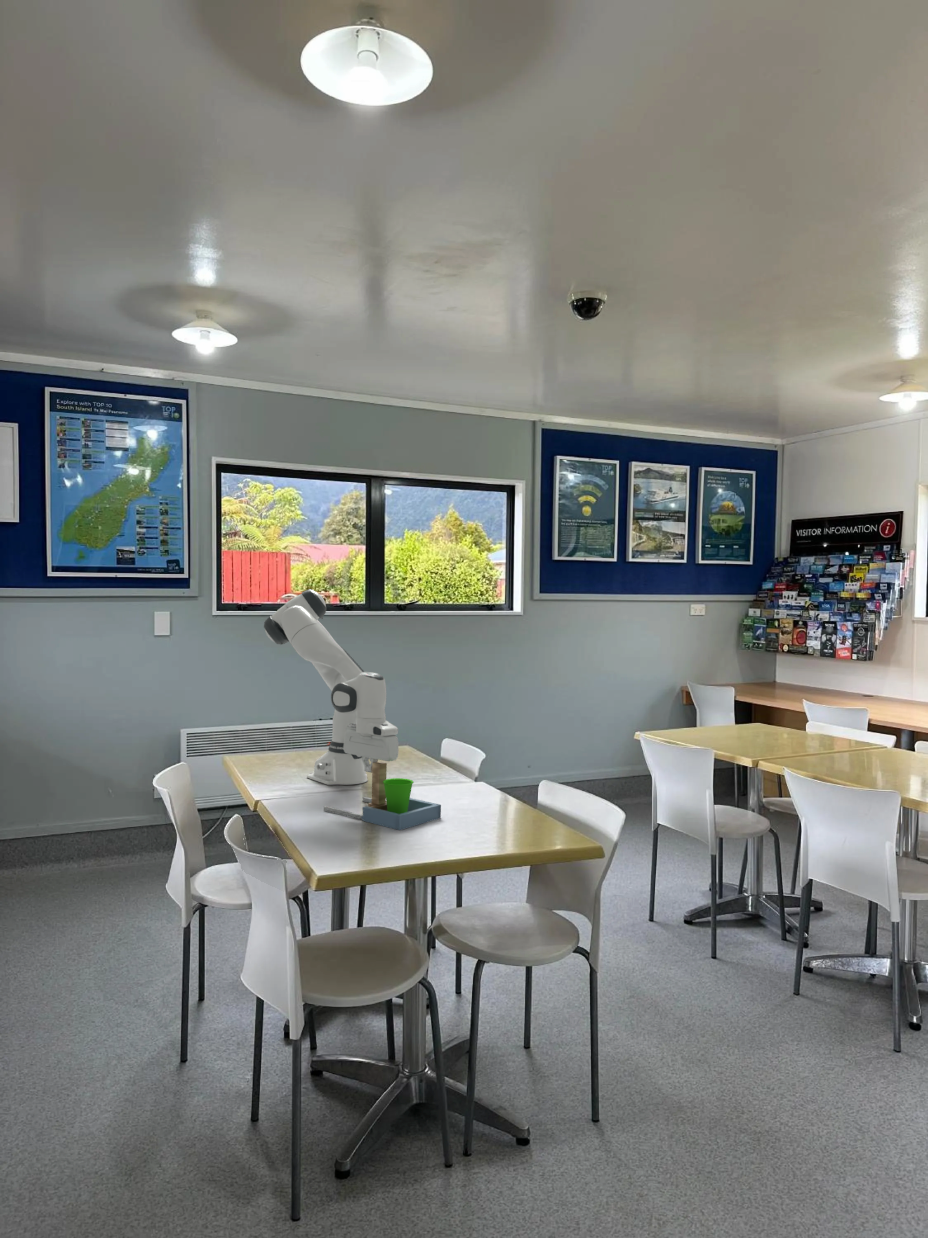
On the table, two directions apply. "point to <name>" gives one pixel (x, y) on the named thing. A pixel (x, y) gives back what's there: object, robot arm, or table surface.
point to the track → (347, 813)
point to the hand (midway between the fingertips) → (369, 772)
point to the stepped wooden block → (378, 786)
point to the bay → (404, 815)
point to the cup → (397, 794)
